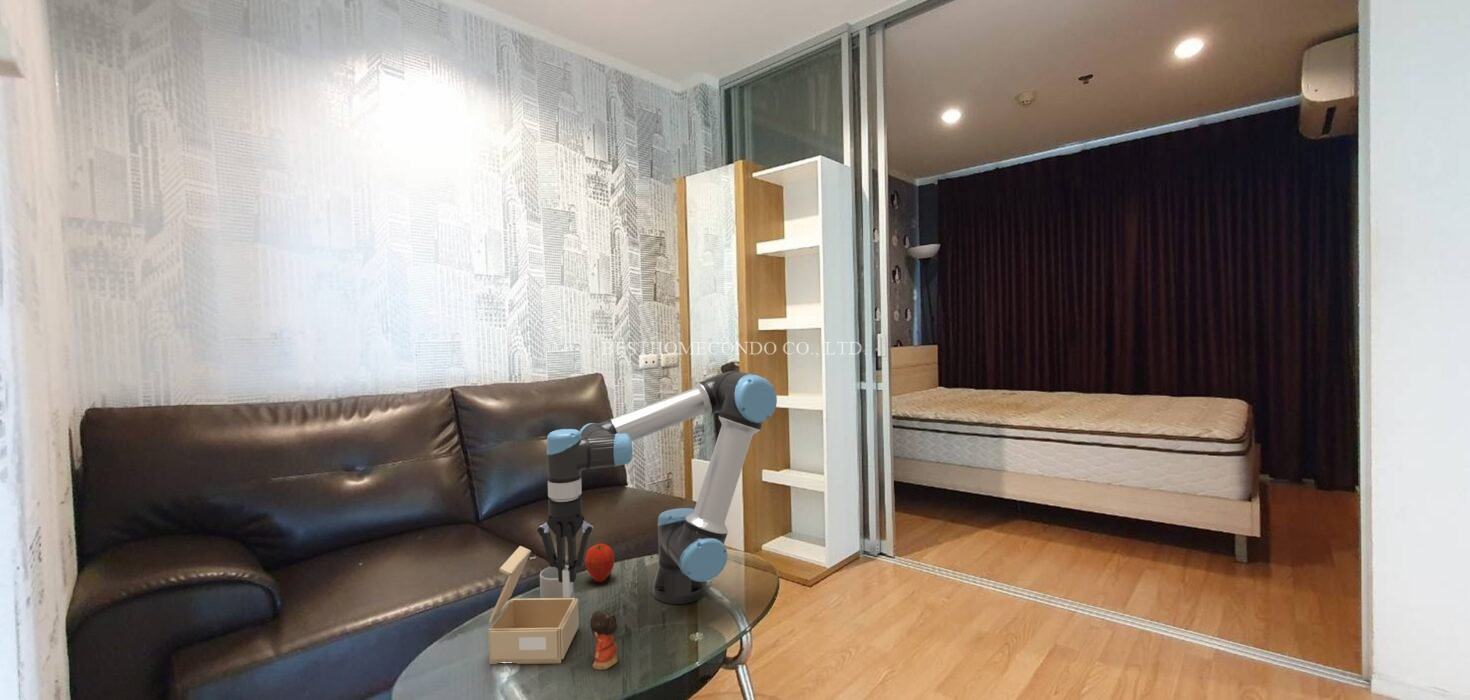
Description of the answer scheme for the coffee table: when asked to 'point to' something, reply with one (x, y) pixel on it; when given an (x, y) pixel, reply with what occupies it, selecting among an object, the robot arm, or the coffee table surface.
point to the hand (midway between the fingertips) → (567, 594)
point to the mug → (551, 584)
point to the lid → (511, 576)
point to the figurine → (604, 639)
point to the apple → (599, 561)
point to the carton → (533, 631)
